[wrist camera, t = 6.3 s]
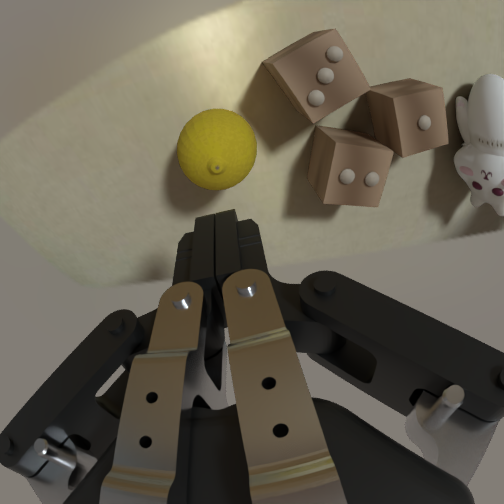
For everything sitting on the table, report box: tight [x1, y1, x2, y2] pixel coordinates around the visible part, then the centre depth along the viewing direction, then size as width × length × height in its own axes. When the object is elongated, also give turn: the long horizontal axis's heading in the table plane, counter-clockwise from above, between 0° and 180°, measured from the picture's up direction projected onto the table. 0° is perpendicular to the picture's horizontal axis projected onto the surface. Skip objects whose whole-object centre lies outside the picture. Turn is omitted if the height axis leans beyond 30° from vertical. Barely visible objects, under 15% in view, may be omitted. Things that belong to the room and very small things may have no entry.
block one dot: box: [366, 78, 448, 158], centre depth 21 cm, size 5×5×5 cm
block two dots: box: [307, 126, 394, 207], centre depth 24 cm, size 5×5×5 cm
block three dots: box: [262, 29, 371, 123], centre depth 19 cm, size 5×5×5 cm
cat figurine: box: [454, 74, 504, 216], centre depth 21 cm, size 10×8×15 cm
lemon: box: [177, 109, 257, 190], centre depth 20 cm, size 6×6×8 cm
